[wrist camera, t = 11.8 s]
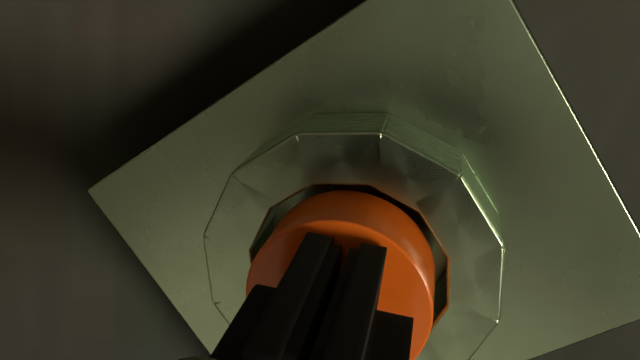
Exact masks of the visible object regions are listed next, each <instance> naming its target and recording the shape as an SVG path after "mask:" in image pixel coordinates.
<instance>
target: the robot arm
mask: <svg viewBox="0 0 640 360" xmlns="http://www.w3.org/2000/svg"><path fill="white" fill-rule="evenodd" d="M386 254H387V247H382V246H377V245H372V244H367V243H362V242H361V245H360V248H359V249H357V248H352V247H350V248H349V251H348V253H347V256H346V259H345V261H344V264H343V267H342V270H341V272H340V275H339V269H340V262H341V255H342V245H337V244H334V237H332V236H327V235H322V234H317V233H312V232H307V233H306V235H305V237H304V239H303V240H302V242H301V244H300V246H299V248H298V250H297V251H296V253H295V255H294V257H293V259H292V261H291V262H290V264H289V266H288V268H287V270H286V271H285V273H284V275H283V277H282V279H281V281H280V282H279V284H278V286H277V288H275V287H270V286H265V285H261V284H256V285H255V286H254V287H253V288H252V290H251V291H250V293H249V294H248V296H247V298H246V299H245V301H244V303H243V304H242V306H241V307H240V309H239V311H238V312H237V314H236V315H235V317H234V319H233V320H232V322H231V323H230V325H229V327H228V328H227V330H226V331H225V333H224V335H223V336H222V338H221V339H220V341H219V343H218V344H217V346H216V348H215V349H214V351H213V352H212V354H211V356H210V357H188V358H183V359H178V360H409V358H410V349H411V340H412V331H413V321H414V318H413V317H408V316H404V315H399V314H394V313H390V312H385V311H381V310H377V306H378V300H379V295H380V289H381V283H382V277H383V271H384V266H385V260H386ZM338 277H339V278H338Z"/></svg>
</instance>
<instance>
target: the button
mask: <svg viewBox="0 0 640 360" xmlns="http://www.w3.org/2000/svg"><path fill="white" fill-rule="evenodd" d="M307 232H312V233H317V234H322V235H327V236H332V237H334V244H337V245H342V255H341V262H340V269H339V275H340V272H341V270H342V267H343V264H344V261H345V259H346V256H347V253H348V251H349V248H350V247H352V248H357V249H359V248H360V245H361V242H362V243H367V244H372V245H377V246H382V247H387V254H386V260H385V266H384V271H383V277H382V283H381V289H380V295H379V300H378V306H377V310H381V311H385V312H390V313H394V314H399V315H404V316H408V317H413V318H414V321H413V331H412V340H411V349H410V358H409V360H415V359H416V357H417V356H418V355H419V354H420V353H421V351H422V349H423V348H424V346H425V345H426V342H427V340H428V338H429V335H430V332H431V328H432V324H433V313H434V291H435V263H434V259H433V254H432V251H431V248H430V246H429V243H428V241H427V239H426V237H425V236H424V234H423V232H422V231H421V230H420V228H419V227H418V225H417V224H416V223H415V222H414V221H413V220H412V219H411V218H410V217H409V216H408V215H407V214H406V213H404V212H403V211H402V210H401V209H400V208H398V207H396V206H395V205H393V204H392V203H390V202H388V201H386V200H384V199H382V198H379V197H377V196H374V195H371V194H367V193H363V192H358V191H347V190H342V191H330V192H324V193H320V194H317V195H314V196H311V197H309V198H307V199H305V200H303V201H301V202H300V203H298V204H297V205H295V206H294V207H292V208H291V209H290V210H289V211H288V212H287V213H286V214H285V215H284V216H283V217H282V219H281V220H280V221H279V223H278V224H277V225H276V227H275V228H274V230H273V231H272V233H271V234H270V236H269V237H268V239H267V240H266V242H265V243H264V244H263V246H262V247H261V249H260V250H259V252H258V253H257V255H256V257H255V258H254V260H253V262H252V265H251V267H250V269H249V273H248V277H247V283H246V298H247V296H248V294H249V293H250V291H251V290H252V288H253V287H254V286H255V285H256V284H261V285H265V286H270V287H275V288H277V286H278V284H279V282H280V281H281V279H282V277H283V275H284V273H285V271H286V270H287V268H288V266H289V264H290V262H291V261H292V259H293V257H294V255H295V253H296V251H297V250H298V248H299V246H300V244H301V242H302V240H303V239H304V237H305V235H306V233H307ZM338 278H339V277H338Z"/></svg>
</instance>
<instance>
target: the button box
mask: <svg viewBox="0 0 640 360" xmlns="http://www.w3.org/2000/svg"><path fill="white" fill-rule="evenodd" d="M342 190H347V191H358V192H363V193H367V194H371V195H374V196H377V197H379V198H382V199H384V200H386V201H388V202H390V203H392V204H393V205H395V206H396V207H398V208H400V209H401V210H402V211H403V212H404V213H406V214H407V215H408V216H409V217H410V218H411V219H412V220H413V221H414V222H415V223H416V224H417V225H418V227H419V228H420V230H421V231H422V232H423V234H424V236H425V237H426V239H427V241H428V243H429V246H430V248H431V251H432V254H433V259H434V263H435V291H434V313H433V324H432V328H431V332H430V335H429V338H428V340H427V342H426V345H425V346H424V348H423V349H422V351H421V353H420V354H419V355H418V356H417V357H416V359H415V360H531V359H533V358H536V357H539V356H541V355H544V354H547V353H550V352H552V351H555V350H558V349H561V348H563V347H566V346H569V345H571V344H574V343H577V342H580V341H582V340H585V339H588V338H591V337H593V336H596V335H599V334H601V333H604V332H607V331H610V330H612V329H615V328H618V327H620V326H623V325H626V324H629V323H631V322H634V321H637V320H640V230H639V228H638V227H637V225H636V223H635V221H634V219H633V217H632V216H631V214H630V212H629V210H628V208H627V206H626V205H625V203H624V201H623V199H622V197H621V196H620V194H619V192H618V190H617V188H616V186H615V185H614V183H613V181H612V179H611V177H610V175H609V174H608V172H607V170H606V168H605V166H604V164H603V163H602V161H601V159H600V157H599V155H598V154H597V152H596V150H595V148H594V146H593V144H592V143H591V141H590V139H589V137H588V135H587V133H586V132H585V130H584V128H583V126H582V124H581V122H580V121H579V119H578V117H577V115H576V113H575V111H574V110H573V108H572V106H571V104H570V102H569V101H568V99H567V97H566V95H565V93H564V91H563V90H562V88H561V86H560V84H559V82H558V80H557V79H556V77H555V75H554V73H553V71H552V69H551V68H550V66H549V64H548V62H547V60H546V59H545V57H544V55H543V53H542V51H541V49H540V48H539V46H538V44H537V42H536V40H535V38H534V37H533V35H532V33H531V31H530V29H529V27H528V26H527V24H526V22H525V20H524V18H523V17H522V15H521V13H520V11H519V9H518V7H517V6H516V4H515V2H514V0H364V1H363V2H361V3H360V4H358V5H357V6H355V7H354V8H352V9H351V10H350V11H348V12H347V13H345V14H344V15H342V16H341V17H339V18H338V19H336V20H335V21H333V22H332V23H330V24H329V25H327V26H326V27H325V28H323V29H322V30H320V31H319V32H317V33H316V34H314V35H313V36H311V37H310V38H308V39H307V40H305V41H304V42H303V43H301V44H300V45H298V46H297V47H295V48H294V49H292V50H291V51H289V52H288V53H286V54H285V55H283V56H282V57H280V58H279V59H278V60H276V61H275V62H273V63H272V64H270V65H269V66H267V67H266V68H264V69H263V70H261V71H260V72H258V73H257V74H256V75H254V76H253V77H251V78H250V79H248V80H247V81H245V82H244V83H242V84H241V85H239V86H238V87H236V88H235V89H234V90H232V91H231V92H229V93H228V94H226V95H225V96H223V97H222V98H220V99H219V100H217V101H216V102H214V103H213V104H211V105H210V106H209V107H207V108H206V109H204V110H203V111H201V112H200V113H198V114H197V115H195V116H194V117H192V118H191V119H189V120H188V121H187V122H185V123H184V124H182V125H181V126H179V127H178V128H176V129H175V130H173V131H172V132H170V133H169V134H167V135H166V136H165V137H163V138H162V139H160V140H159V141H157V142H156V143H154V144H153V145H151V146H150V147H148V148H147V149H145V150H144V151H142V152H141V153H140V154H138V155H137V156H135V157H134V158H132V159H131V160H129V161H128V162H126V163H125V164H123V165H122V166H120V167H119V168H118V169H116V170H115V171H113V172H112V173H110V174H109V175H107V176H106V177H104V178H103V179H101V180H100V181H98V182H97V183H95V184H94V185H93V186H91V187H90V188H89V189H88V193H89V194H90V195H91V197H92V198H93V199H94V201H95V202H96V203H97V205H98V206H99V207H100V209H101V210H102V211H103V213H104V214H105V215H106V217H107V218H108V219H109V221H110V222H111V223H112V225H113V226H114V227H115V229H116V230H117V231H118V233H119V234H120V235H121V237H122V238H123V239H124V241H125V242H126V243H127V245H128V246H129V247H130V249H131V250H132V251H133V253H134V254H135V255H136V257H137V258H138V259H139V261H140V262H141V263H142V265H143V266H144V267H145V269H146V270H147V271H148V273H149V274H150V275H151V277H152V278H153V279H154V281H155V282H156V283H157V285H158V286H159V287H160V289H161V290H162V291H163V293H164V294H165V295H166V297H167V298H168V299H169V301H170V302H171V303H172V305H173V306H174V307H175V309H176V310H177V311H178V313H179V314H180V315H181V317H182V318H183V319H184V321H185V322H186V323H187V324H188V326H189V327H190V328H191V330H192V331H193V332H194V334H195V335H196V336H197V338H198V339H199V340H200V342H201V343H202V344H203V346H204V347H205V348H206V350H207V351H208V352H209V354H210V355H211V354H212V352H213V351H214V349H215V348H216V346H217V344H218V343H219V341H220V339H221V338H222V336H223V335H224V333H225V331H226V330H227V328H228V327H229V325H230V323H231V322H232V320H233V319H234V317H235V315H236V314H237V312H238V311H239V309H240V307H241V306H242V304H243V303H244V301H245V299H246V283H247V277H248V273H249V269H250V267H251V265H252V262H253V260H254V258H255V257H256V255H257V253H258V252H259V250H260V249H261V247H262V246H263V244H264V243H265V242H266V240H267V239H268V237H269V236H270V234H271V233H272V231H273V230H274V228H275V227H276V225H277V224H278V223H279V221H280V220H281V219H282V217H283V216H284V215H285V214H286V213H287V212H288V211H289V210H290V209H291V208H292V207H294V206H295V205H297V204H298V203H300V202H301V201H303V200H305V199H307V198H309V197H311V196H314V195H317V194H320V193H324V192H330V191H342Z"/></svg>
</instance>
